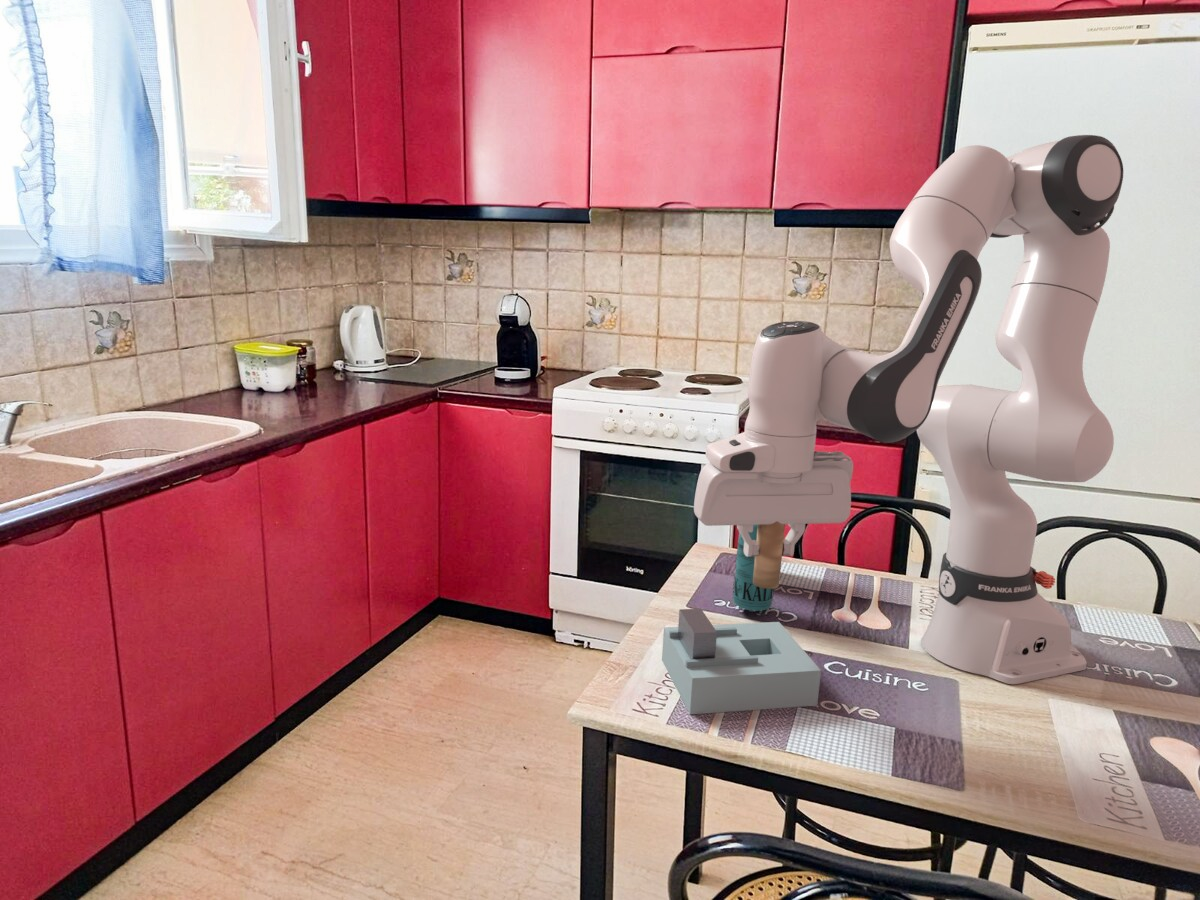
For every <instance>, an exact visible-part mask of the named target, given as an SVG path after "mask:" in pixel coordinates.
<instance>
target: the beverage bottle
mask: <svg viewBox="0 0 1200 900" xmlns="http://www.w3.org/2000/svg"><path fill="white" fill-rule="evenodd" d="M757 529H758V525H753V532H748V533H749V535H750V537H751V539H752V540H755V541H756V540H757ZM738 533H739V534H738V540H737V548H736V559H735V567H734V568H735V572H734V581H732V582H733V583H732V584H733V585H732V586H733V587H732V599H733V600H732V601H733V603H734V605H736V606H737V607H739V608H740V609H743V610H747V611H755V612H756V611H760V612H761V611H765V610H768V609H770V608H771V607H772V604H773V602H774V601H773V599H774V596H775V594H774V593H775V590H776V589H775V588H773V589H766V588H761V587H758V586H756V585H754V584H753V573H754V562H755V556H752V557H747V556H746V555H745V554H744V551H743V549H744V540H743V538H742V536H741V534H740V532H739V531H738Z"/></svg>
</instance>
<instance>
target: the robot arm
mask: <svg viewBox="0 0 1200 900" xmlns="http://www.w3.org/2000/svg"><path fill="white" fill-rule="evenodd" d="M1123 178H1124V164H1123V160H1122V157H1121V155H1120V154H1119V151H1118V150H1117V148H1116V146H1115V145H1114V144H1113V143H1112V142H1111V141H1110V140H1109V139H1107V138H1105V137H1104V136H1101V135H1095V134H1094V135H1093V134H1080V135H1078V134H1077V135H1071V136H1067V137H1063V138H1062V139H1060V140H1057V141H1052V142H1051V141H1049V142H1046V143H1041V144H1039V145H1035V146H1031V147H1029V148H1026V149H1024V150H1022V151H1021V152H1018V153H1015V154H1012V155H1010V156H1005V155H1004V154H1003V153H1001V152H1000V151H998V150H996V149H995V148H992V147H989V146H985V145H978V144H977V145H976V144H975V145H968V146H964V147H962V148H959V149H957V150H956V151H955V152H953V153H952V154H951V155H950V156H948V158H946V159H945V160H944V161H942V163H941V165H939V166H938V168H937V169H935V171H934V172H933V173H932V174H931V175H930V176H929V177H928V179H927V180H926V181H925V182H924V183H923V184H922V186H921V187H920V189H918V191H917V192H916V194H915V195H914V197H913V198H912V199H911V201H910V202H909V204H908V205H907V206H906V208H905V209H904V211H903V213H902V214H901V215H900V217H899V218H898V220H897V222H896V223H895V226H894V228H893V230H892V233H891V235H890V237H889V253H890V257H891V260H892V262H893V265H894V267H895V268H896V270H897V271H898V273H899V274H900V275H901V276H902V277H903V278H904V279H905V280H906V282H908V284H910V285H911V286H912V287H914V288H915V289H916V290H918V291H919V292H921V293H923V295H922V300H921V302H920V304H919V307H918V308H917V310H916V312H915V315H914V317H913V319H912V321H911V323H910V324H909V327H908V329H907V331H906V333H905V335H904V337H903V339H902V341H901V343H900V345H899V346H898V347H897V348H896V349H895V350H893V351H891V352H888V353H886V354H881V355H880V354H874V353H868V352H863V351H859V350H856V349H850V348H847V347H846V346H845V345H842V344H840V343H838V342H836V341H834V340H833V339H832V338H830V337H828V335H827V334H825V333H824V332H823V330H822V327H821V326H820V325H819V324H817V323H815V322H811V321H805V320H804V321H803V320H795V321H789V320H788V321H781V322H776V323H773V324H771V325H767V326H766V327H764V328H763V329H762V330H761V331H760V333H759V334H758V336H757V337H756V341H755V344H754V346H753V351H752V356H751V362H750V366H749V374H748V386H747V396H748V400H749V410H748V414H747V417H746V420H745V421H744V432H741V433H737V434H735V435H733V436H729V437H727V438H724V439H720V440H716V441H713V442H711V443H709V444H707V445H706V447H705V457H706V459H707V460H708V463H705V465H704V466H703V467H702V468H701V469H700V471H699V475H698V479H697V483H696V488H695V493H694V501H693V513H694V515H695V516H696V518H697V519H698V520H699V521H700V522H701V523H702V524H703V525H704V526H709V527H710V526H711V527H712V526H736V528H737V530H738V533H739V532H740V534H741V536H742V538H743V540H744V549H743V551H744V554H745V555H746V556H747V557H752V556H758V555H759V552H758V550H759V546H760V544H759V543H757V541H755V540H752V539H751V537H750V535H749V533H748V532H753V525H768V524H773V523H775V522H779V523H780V524H785V525H788V527H790V530H789V531H788V533H787V534H786V535H785V537H784V540H783V550H782V557H783V556H785V557H786V556H787V557H788V556H789V557H790V556H794V554H795V553H794V552H795V545H796V543H798V541H799V540H800V539H801V537H802V536H803V535H804V533H805V530H806V524H808V525H809V524H811V525H812V524H843V523H845V522H846V521H847V520H848V519H849V517H850V516H851V508H852V507H851V506H852V492H851V491H852V490H851V480H852V478H853V472H854V462H853V460H852V458H851V457H850V456H848V455H847V454H845V453H844V451H843V452H842V451H838V450H836V451H831V452H830V451H822V450H821V451H820V450H819V451H816V449H815V447H816V440H817V439H816V438H817V432H818V431H817V428H818V427H817V422H818V421H821V420H822V421H826V422H829V423H831V424H833V425H836V426H839V427H842V428H847V429H849V430H854V431H856V432H858V433H860V434H861V435H864V436H866V437H869V438H871V439H874V440H876V441H877V442H880V443H885V444H886V443H887V444H891V443H896V442H899V441H902V440H904V439H906V438H907V437H909V436H911V435H912V434H914V432H916V434H917V437H918V439H919V442H921V444H922V445H923V447H924V448H925V449H926V450H928V452H929V453H930V454H931V456H932V457H933V458H934V460H935V461H936V463H937V465H938V467H939V468H940V470H941V473H942V475H943V478H944V480H945V483H946V486H947V487H946V488H947V490H948V495H949V496H948V497H949V501H950V502H949V503H950V504H949V505H950V506H949V507H950V512H949V513H950V516H949V529H948V538H947V546H946V552H945V553H943V555H942V557H941V558H942V559H941V563H940V570H939V577H938V579H939V580H938V595H937V599H936V602H935V607H934V609H933V612H932V615H931V618H930V620H929V624H928V626H927V628H926V630H925V632H924V634H923V636H922V637H921V641H920V642H921V645H922V647H923V649H924V650H925V651H926V653H928V654H929V655H930V656H932V657H933V658H935V659H936V660H938V661H940V662H941V663H943V664H945V665H948V666H950V667H953V668H955V669H958V670H961V671H965V672H969V673H973V674H976V675H981V676H985V677H989V678H991V679H994V680H997V681H999V682H1002V683H1005V684H1009V685H1019V684H1023V683H1027V682H1032V681H1033V682H1034V681H1037V680H1038V681H1039V680H1041V679H1048V678H1051V677H1057V676H1060V675H1061V676H1062V675H1065V674H1071V673H1075V672H1079V671H1084V670H1087V660H1086V657H1084V655H1083V654H1082V653H1081V652H1080V651H1079V649H1077V648H1076V647H1075V646H1073V645H1072V630H1071V625H1070V623H1069V621H1068V619H1067V618H1066V616H1064V614H1062V613H1061V612H1060V611H1059V610H1058V609H1057V608H1055V607H1054V606H1053V605H1052V604H1051V603H1050V602H1049V601H1048V600H1047V599H1045V598H1044V596H1042V595H1041V594H1040V593H1039V592H1038V587H1037V584H1038V585H1040V586H1041V587H1042V588H1043V589H1046V590H1047V589H1052V587H1053V586H1055V583H1056V581H1055V580H1056V578H1055V577H1054V576H1053V575H1051V574H1049V573H1047V572H1046V571H1045V570H1041V571H1036V569H1035V568H1034V567H1032V566H1031V563H1032V560H1033V554H1034V547H1035V541H1036V535H1037V531H1038V530H1037V529H1038V522H1037V517H1036V515H1035V512H1034V510H1033V508H1032V507H1031V506H1030V505H1029V504H1028V503H1027V501H1026V500H1024V499H1023V498H1022V497H1020V496H1019V495H1018V494H1017V493H1016V492H1015V491H1014V490H1013V488H1012V486H1011V485H1010V483H1009V480H1008V478H1007V475H1006V472H1007V473H1010V474H1011V473H1012V474H1017V475H1020V476H1024V477H1029V478H1032V479H1037V480H1040V481H1045V482H1046V481H1047V482H1060V483H1086V482H1088V481H1089V480H1091V479H1092V478H1094V477H1096V476H1097V475H1098V474H1099V473H1100V472H1101V471H1103V470H1104V468H1105V467H1106V466H1107V464H1108V462H1109V460H1110V459H1111V457H1112V453H1113V451H1114V444H1115V443H1114V440H1115V439H1114V431H1113V428H1112V426H1111V423H1110V421H1109V420H1108V418H1107V416H1106V415H1105V414H1104V413H1103V411H1102V410H1101V409H1099V407H1098V406H1097V404H1095V402H1094V401H1093V399H1092V398H1091V396H1090V394H1089V392H1088V390H1087V389H1088V388H1087V387H1086V383H1085V378H1084V372H1083V371H1084V370H1083V368H1084V367H1083V364H1084V355H1085V352H1086V347H1087V342H1088V340H1089V334H1090V332H1091V328H1092V324H1093V321H1094V319H1095V316H1096V312H1097V309H1098V306H1099V303H1100V301H1101V300H1100V299H1101V297H1102V294H1103V289H1104V286H1105V281H1106V278H1107V277H1106V276H1107V273H1108V265H1109V258H1110V251H1111V250H1110V249H1111V241H1110V237H1109V235H1108V233H1107V232H1106V230H1105V229H1104V228H1102V227H1103V226H1104V225H1105V224H1106V223H1107V222H1108V221H1109V219H1110V218H1111V216H1112V214H1113V212H1114V210H1115V204H1116V203H1117V201H1118V199H1119V196H1120V194H1121V189H1122V184H1123V182H1124V181H1123V180H1124V179H1123ZM1019 235H1022V238H1023V258H1022V261H1021V263H1020V265H1019V267H1018V269H1017V272H1016V274H1015V277H1014V280H1013V282H1012V285H1011V287H1010V291H1009V294H1008V297H1007V299H1006V301H1005V302H1006V303H1005V305H1004V309H1003V311H1002V314H1001V316H1000V320H999V323H998V326H997V329H996V332H995V345H996V348H997V350H998V352H999V354H1000V355H1001V356H1002V357H1003V358H1004V359H1005V360H1006V361H1008V363H1009V364H1010V365H1012V366H1013V367H1014V368H1016V369H1017V370H1019V371H1021V376H1022V377H1021V378H1022V379H1021V384H1020V388H1019V389H1018V390H1017V391H1016V390H1015V391H1012V390H1006V389H1001V388H994V387H987V386H982V385H976V384H950V385H949V384H948V385H947V384H946V385H939V386H938V384H939V381H940V379H941V377H942V374H943V371H944V369H945V367H946V365H947V363H948V360H949V359H950V357H951V354H952V353H953V350H954V348H955V346H956V344H957V341H958V339H959V338H960V335H961V333H962V332H963V329H964V326H965V325H966V322H967V320H968V318H969V316H970V314H971V312H972V309H973V307H974V305H975V303H976V299H977V297H978V293H979V290H980V287H981V285H982V279H983V278H982V277H983V276H982V275H983V274H982V267H981V264H980V263H979V261H978V258H979V257H980V254H981V252H982V250H983V249H984V247H985V245H986V244H987V242H988V240H989V239H990V238H996V239H997V238H998V239H1003V238H1009V237H1011V236H1019Z"/></svg>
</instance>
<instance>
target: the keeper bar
mask: <svg viewBox="0 0 1200 900" xmlns="http://www.w3.org/2000/svg"><path fill="white" fill-rule="evenodd" d="M713 625H714V624H712V622H711V620H710V619H709V618H708V617H707V615H706V613H705V612H704V611H703V609H702V608H683V609H682V608H681V609H679V611H678V625H677V627H678V638H679V640H680V642H681V643H682V645H683V647H684V648H685V650H686V652H687V654H688V655H689V657H690V659H691V660H692V659H710V658H715V652H716V639H717V631H716V630H715V628H714V627H713Z"/></svg>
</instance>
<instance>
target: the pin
mask: <svg viewBox="0 0 1200 900" xmlns="http://www.w3.org/2000/svg"><path fill="white" fill-rule="evenodd" d="M785 529H786V524H780V523H779V522H775V523H773V524H768V525H758V529H757V540H756V541H757V543H759V544H760V546H759V550H758V552H759V555H758V556H755V562H754V573H753V584H754V585H756V586H758V587H761V588H766V589H773V588H776V589H777V588H779V586H780V579H781V569H782V568H781V567H782V559H783V558H782V557H783V556H782V550H783V540H784V539H785Z"/></svg>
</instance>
